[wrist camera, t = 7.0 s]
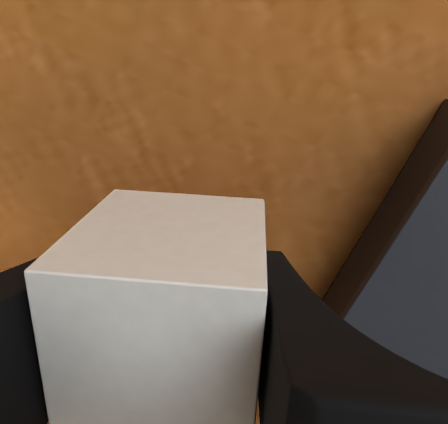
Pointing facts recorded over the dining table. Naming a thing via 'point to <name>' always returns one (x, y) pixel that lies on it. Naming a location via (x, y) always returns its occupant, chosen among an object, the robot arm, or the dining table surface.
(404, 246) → the dark grey rectangular slab
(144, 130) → the dining table surface
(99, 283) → the white box
